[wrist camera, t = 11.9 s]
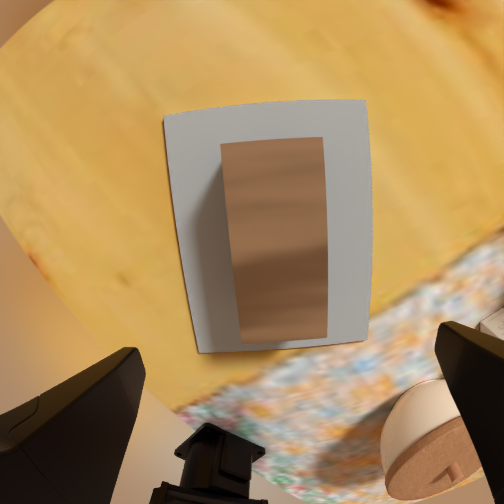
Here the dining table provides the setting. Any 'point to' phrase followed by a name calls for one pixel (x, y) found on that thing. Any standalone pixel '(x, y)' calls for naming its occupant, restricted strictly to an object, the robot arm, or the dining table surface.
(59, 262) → the dining table surface
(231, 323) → the mat
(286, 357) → the dining table surface
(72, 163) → the dining table surface
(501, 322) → the small box
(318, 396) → the dining table surface
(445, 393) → the lidded jar
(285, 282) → the walnut block
